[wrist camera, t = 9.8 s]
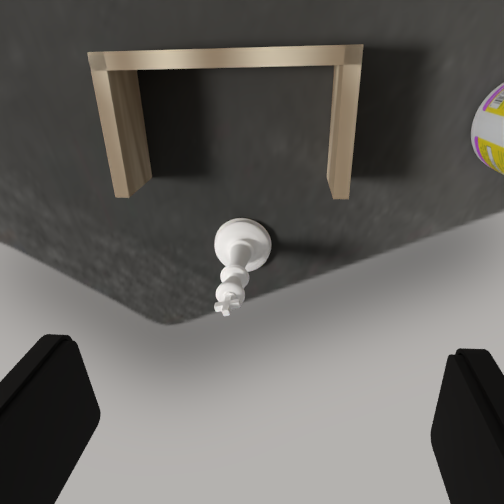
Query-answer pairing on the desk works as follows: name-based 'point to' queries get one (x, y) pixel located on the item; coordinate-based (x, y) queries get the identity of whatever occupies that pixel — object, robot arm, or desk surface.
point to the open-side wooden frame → (128, 62)
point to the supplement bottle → (490, 130)
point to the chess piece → (239, 259)
